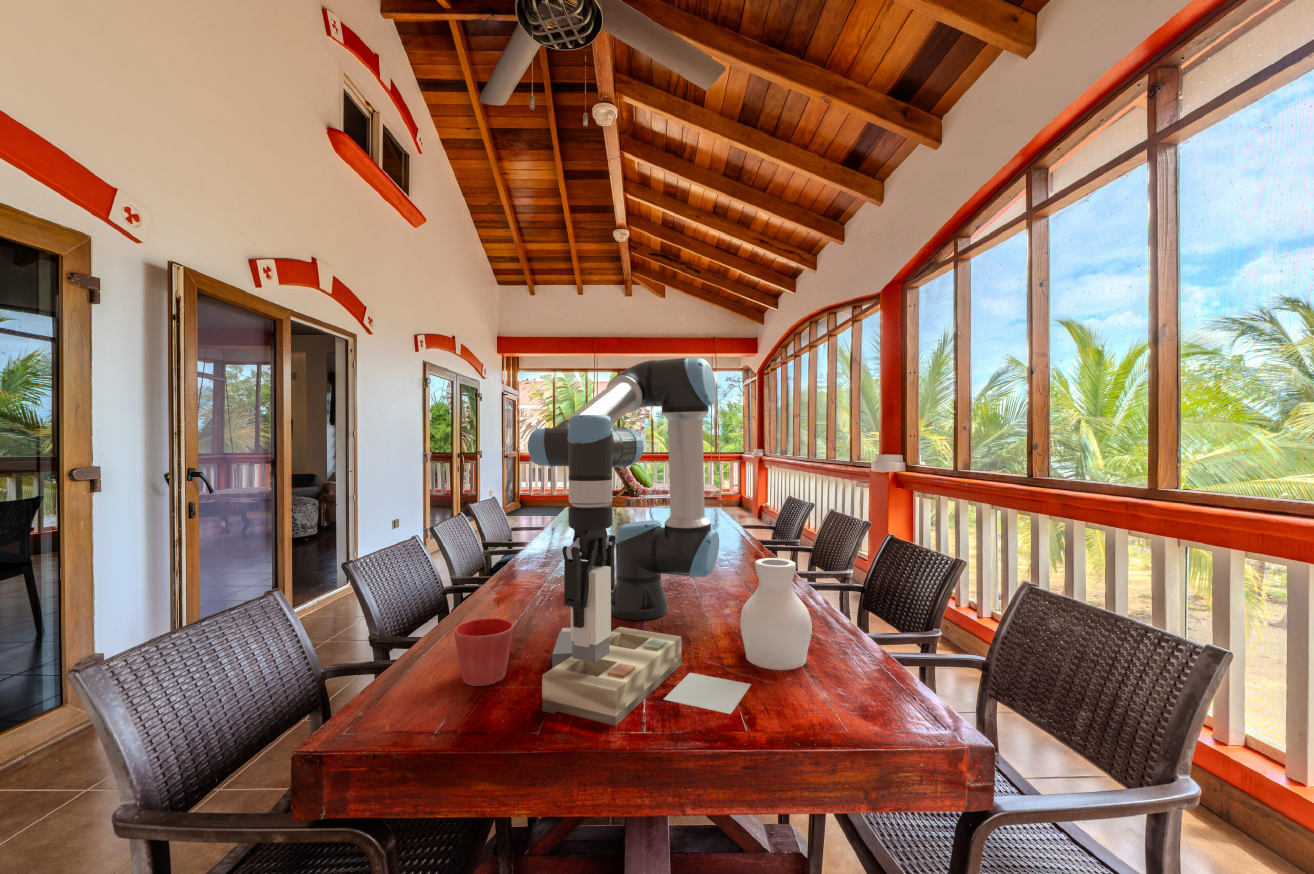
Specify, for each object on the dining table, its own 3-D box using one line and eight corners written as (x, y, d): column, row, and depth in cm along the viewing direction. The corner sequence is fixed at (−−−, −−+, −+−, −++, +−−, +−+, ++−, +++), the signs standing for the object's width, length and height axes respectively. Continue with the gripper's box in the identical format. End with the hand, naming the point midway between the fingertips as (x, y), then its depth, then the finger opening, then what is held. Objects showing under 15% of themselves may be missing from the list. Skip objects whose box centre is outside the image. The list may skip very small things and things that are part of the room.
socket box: (619, 655, 117) (619, 624, 117) (681, 667, 111) (681, 634, 111) (542, 710, 93) (542, 671, 93) (615, 729, 87) (615, 687, 87)
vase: (726, 661, 113) (725, 562, 113) (764, 642, 124) (763, 551, 124) (789, 682, 104) (788, 573, 104) (825, 659, 114) (824, 561, 114)
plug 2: (586, 648, 100) (586, 563, 100) (611, 652, 98) (610, 566, 98) (570, 658, 95) (570, 569, 96) (595, 663, 93) (595, 572, 93)
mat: (689, 675, 107) (689, 672, 107) (751, 687, 102) (751, 684, 102) (663, 702, 96) (663, 699, 96) (730, 717, 91) (730, 713, 91)
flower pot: (495, 661, 114) (495, 613, 114) (524, 677, 106) (524, 626, 106) (444, 677, 107) (444, 626, 107) (471, 696, 99) (471, 640, 99)
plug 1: (561, 650, 120) (561, 626, 120) (585, 649, 121) (584, 626, 121) (552, 680, 105) (552, 653, 105) (579, 679, 106) (579, 653, 106)
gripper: (599, 498, 107) (599, 621, 106) (540, 509, 90) (540, 654, 90) (634, 500, 103) (634, 626, 103) (579, 511, 87) (580, 662, 87)
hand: (590, 639), depth 97 cm, fingers closed on plug 2, 5 cm apart
